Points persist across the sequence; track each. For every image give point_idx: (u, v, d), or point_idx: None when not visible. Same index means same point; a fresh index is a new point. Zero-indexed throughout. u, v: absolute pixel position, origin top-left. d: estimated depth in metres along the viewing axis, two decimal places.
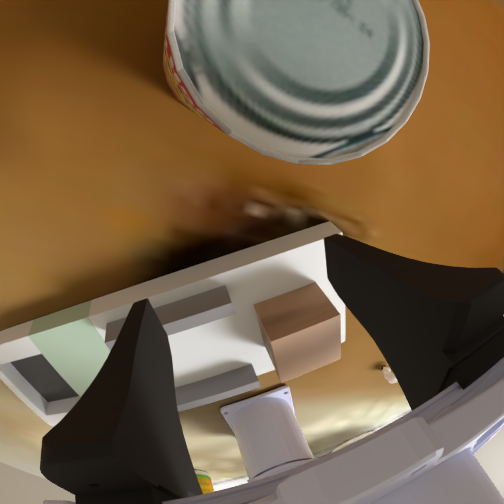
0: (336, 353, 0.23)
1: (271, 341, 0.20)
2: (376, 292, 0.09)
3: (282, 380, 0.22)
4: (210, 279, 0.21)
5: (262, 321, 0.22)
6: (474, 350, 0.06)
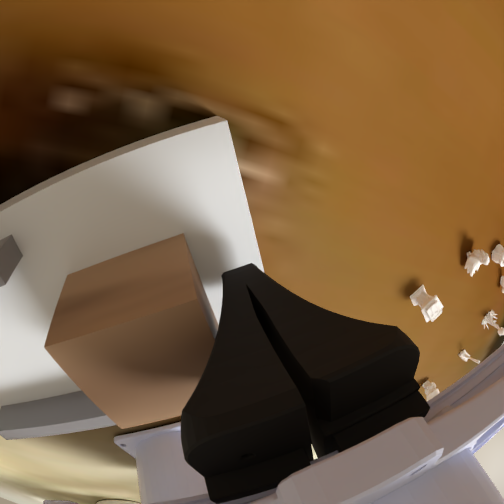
0: None
1: (46, 346, 0.08)
2: (272, 335, 0.09)
3: (121, 425, 0.10)
4: None
5: (58, 305, 0.09)
6: (359, 420, 0.06)
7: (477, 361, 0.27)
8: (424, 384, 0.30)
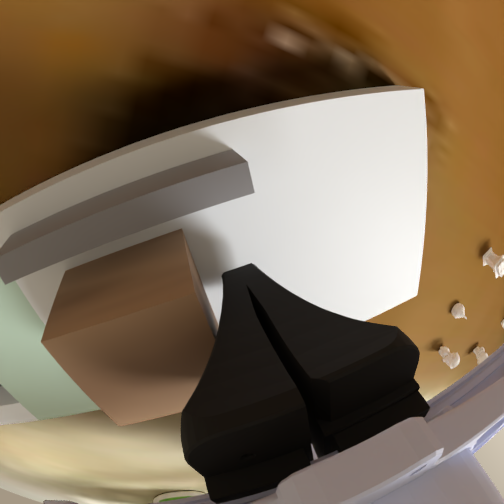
0: None
1: (43, 341, 0.08)
2: (272, 335, 0.09)
3: (118, 422, 0.10)
4: (204, 133, 0.10)
5: (56, 300, 0.09)
6: (359, 420, 0.06)
7: None
8: (475, 349, 0.31)
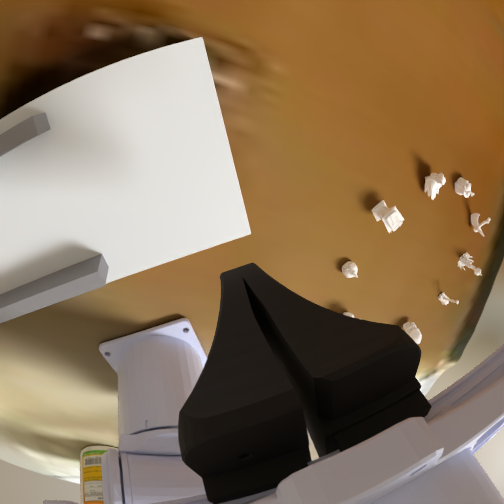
0: None
1: None
2: (273, 334, 0.09)
3: None
4: (29, 105, 0.12)
5: None
6: (361, 419, 0.06)
7: (456, 301, 0.30)
8: (404, 325, 0.33)
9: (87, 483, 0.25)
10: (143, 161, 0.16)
